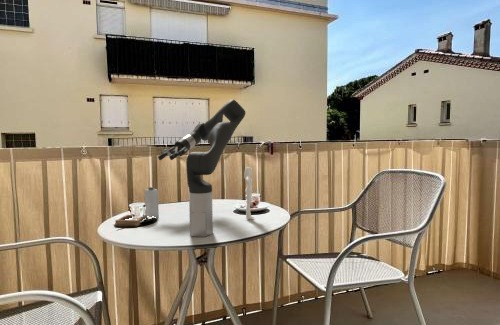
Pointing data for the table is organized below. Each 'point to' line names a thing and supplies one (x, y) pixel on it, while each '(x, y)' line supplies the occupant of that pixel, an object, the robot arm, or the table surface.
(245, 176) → the character figure
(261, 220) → the table surface
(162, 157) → the robot arm
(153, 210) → the grey rectangular block
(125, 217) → the tray
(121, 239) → the table surface
